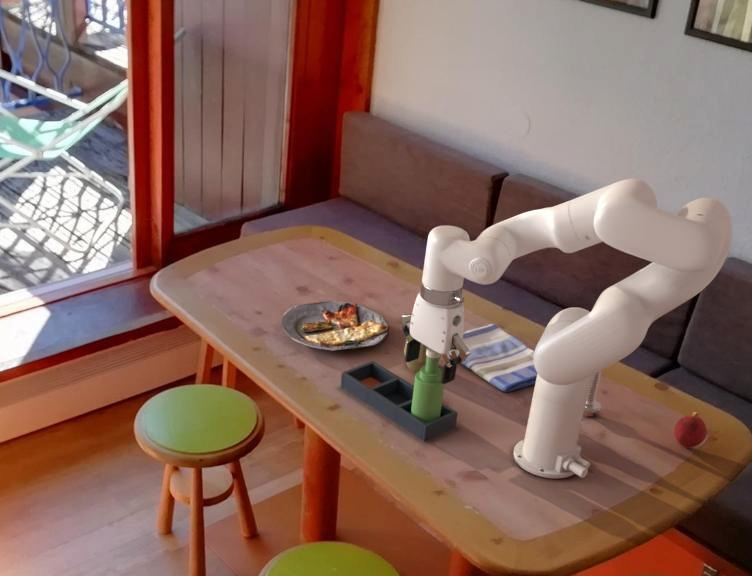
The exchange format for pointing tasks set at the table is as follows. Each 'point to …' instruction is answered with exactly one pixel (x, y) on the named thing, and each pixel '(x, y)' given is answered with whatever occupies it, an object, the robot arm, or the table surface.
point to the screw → (592, 396)
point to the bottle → (428, 389)
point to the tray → (394, 399)
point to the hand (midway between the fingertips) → (429, 370)
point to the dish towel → (499, 358)
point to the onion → (690, 430)
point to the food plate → (334, 325)
